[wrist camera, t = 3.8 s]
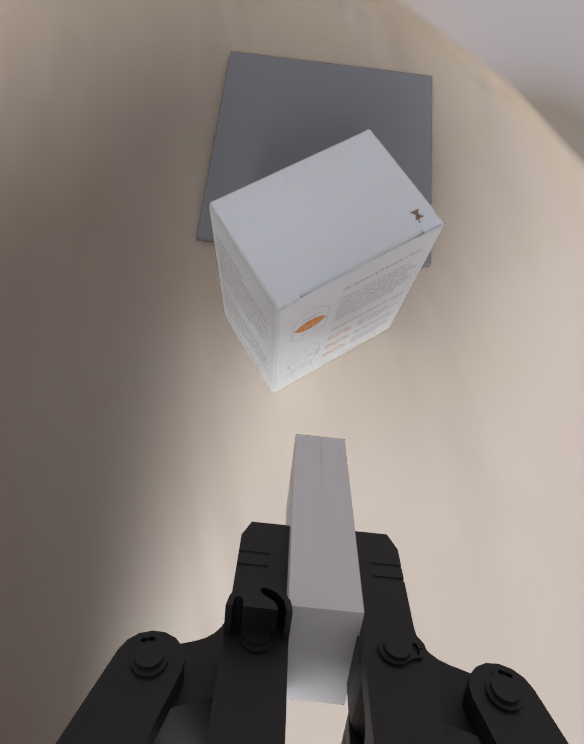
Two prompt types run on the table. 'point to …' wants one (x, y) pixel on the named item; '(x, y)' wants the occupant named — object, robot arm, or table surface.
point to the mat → (313, 120)
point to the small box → (320, 255)
